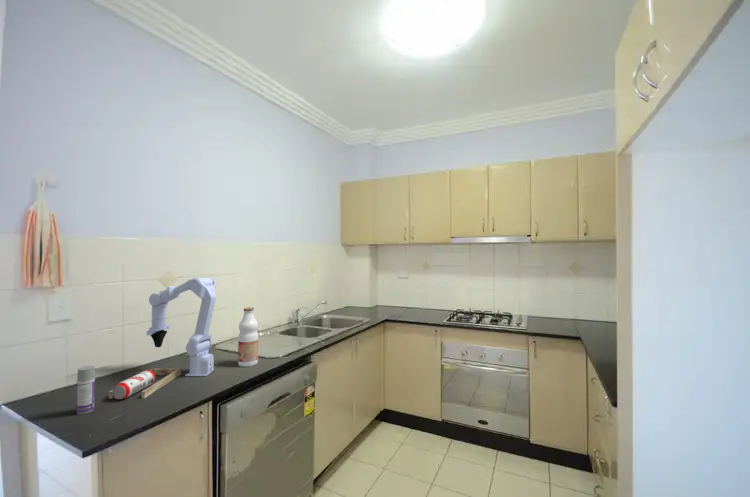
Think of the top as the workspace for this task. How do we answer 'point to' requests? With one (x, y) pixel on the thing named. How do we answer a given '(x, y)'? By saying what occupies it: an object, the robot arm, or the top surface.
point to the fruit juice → (248, 339)
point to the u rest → (171, 375)
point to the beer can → (133, 384)
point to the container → (85, 389)
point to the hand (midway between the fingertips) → (158, 346)
